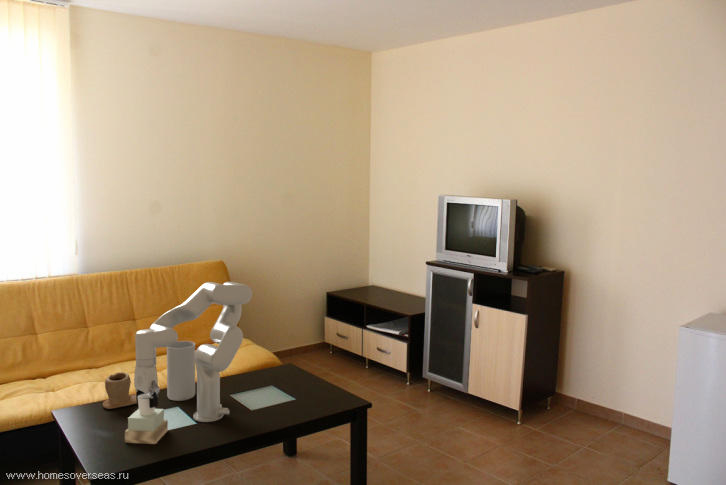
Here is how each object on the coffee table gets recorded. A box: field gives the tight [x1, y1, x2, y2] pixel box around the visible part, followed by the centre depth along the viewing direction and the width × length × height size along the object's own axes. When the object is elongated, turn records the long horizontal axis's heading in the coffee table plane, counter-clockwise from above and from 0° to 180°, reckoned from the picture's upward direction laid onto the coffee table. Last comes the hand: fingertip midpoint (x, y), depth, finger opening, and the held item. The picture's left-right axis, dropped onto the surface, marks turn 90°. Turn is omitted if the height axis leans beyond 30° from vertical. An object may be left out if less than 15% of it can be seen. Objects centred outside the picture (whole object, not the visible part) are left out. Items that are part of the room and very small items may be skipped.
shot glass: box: [137, 392, 156, 416], centre depth 224 cm, size 7×7×7 cm
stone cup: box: [102, 371, 138, 410], centre depth 255 cm, size 15×12×15 cm
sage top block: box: [127, 408, 165, 431], centre depth 224 cm, size 10×10×5 cm
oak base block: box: [124, 419, 169, 445], centre depth 225 cm, size 12×12×5 cm
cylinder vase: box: [166, 340, 196, 402], centre depth 267 cm, size 12×12×25 cm
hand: (147, 403), depth 224 cm, fingers open, 9 cm apart
